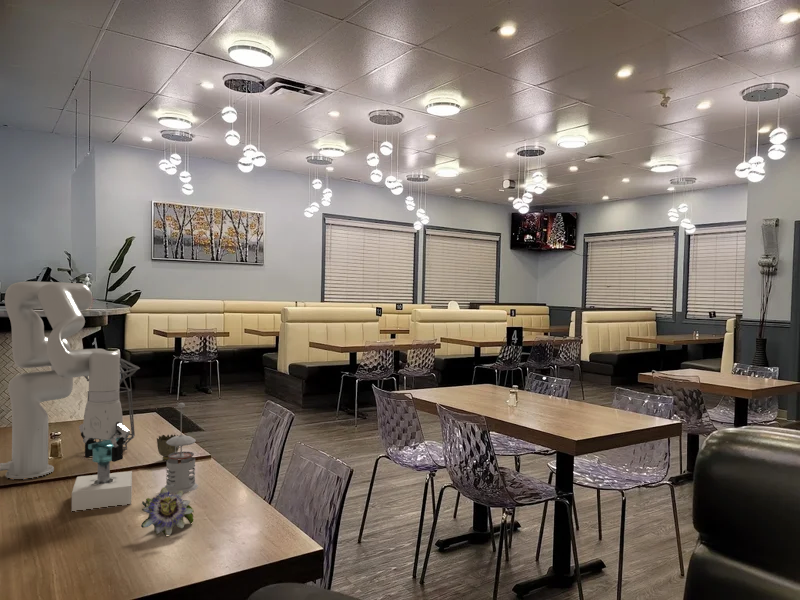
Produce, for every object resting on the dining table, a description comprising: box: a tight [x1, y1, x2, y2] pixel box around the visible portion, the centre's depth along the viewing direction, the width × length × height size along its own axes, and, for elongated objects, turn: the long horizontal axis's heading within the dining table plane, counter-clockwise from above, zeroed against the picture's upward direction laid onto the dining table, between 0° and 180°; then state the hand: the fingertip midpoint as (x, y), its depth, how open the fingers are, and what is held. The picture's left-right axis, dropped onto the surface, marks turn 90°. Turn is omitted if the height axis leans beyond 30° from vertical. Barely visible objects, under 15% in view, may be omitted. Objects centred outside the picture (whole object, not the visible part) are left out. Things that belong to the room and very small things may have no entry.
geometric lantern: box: [83, 357, 141, 451], centre depth 206 cm, size 16×16×35 cm
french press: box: [163, 402, 199, 494], centre depth 169 cm, size 10×12×25 cm
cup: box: [156, 433, 180, 461], centre depth 195 cm, size 8×7×8 cm
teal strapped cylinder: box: [88, 438, 118, 484], centre depth 158 cm, size 9×6×16 cm, turn 159°
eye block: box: [71, 470, 133, 512], centre depth 158 cm, size 14×14×5 cm
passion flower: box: [140, 486, 195, 536], centre depth 139 cm, size 11×11×12 cm
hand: (103, 458), depth 158 cm, fingers open, 9 cm apart
